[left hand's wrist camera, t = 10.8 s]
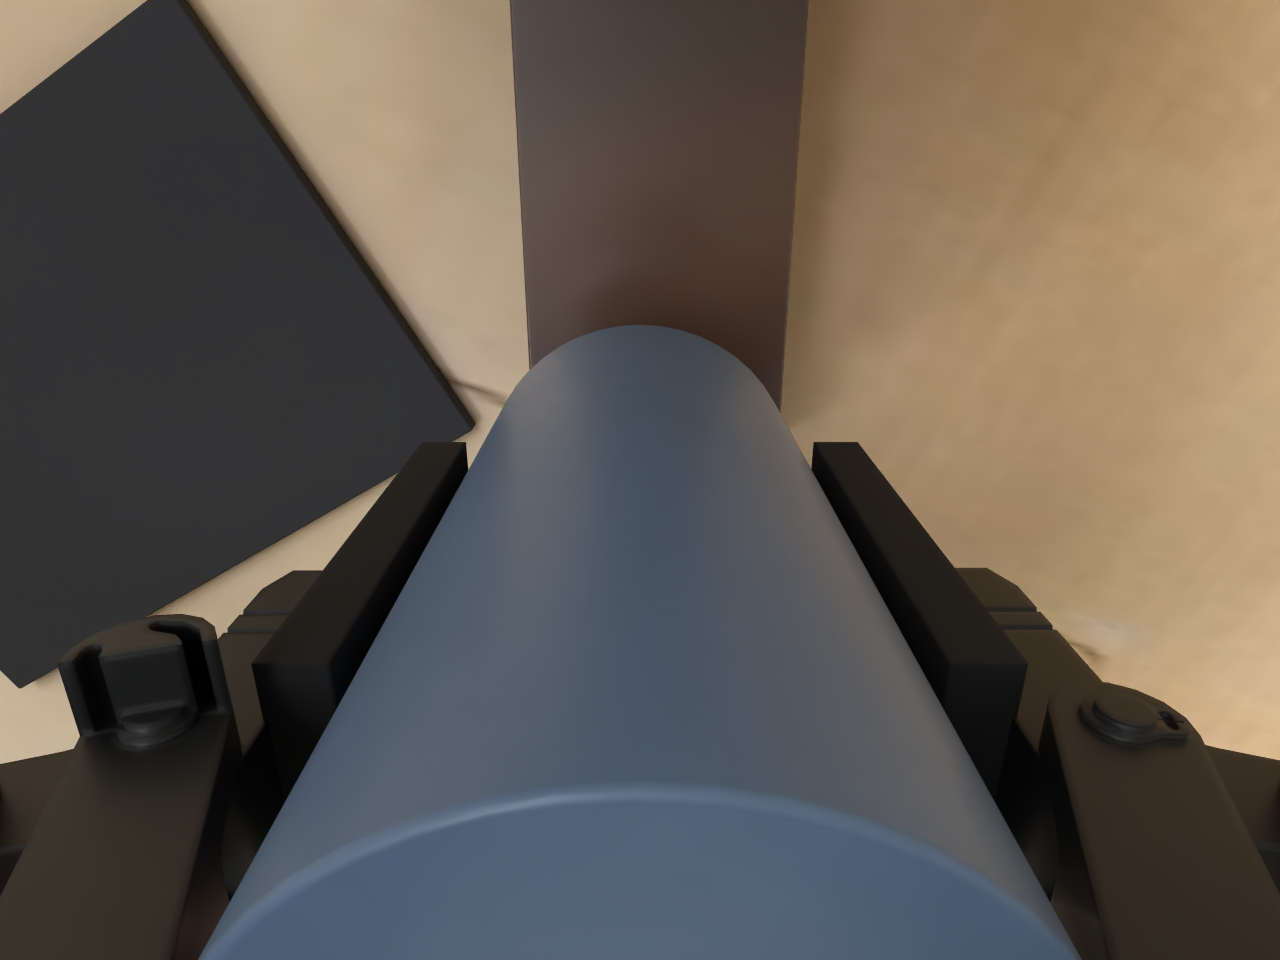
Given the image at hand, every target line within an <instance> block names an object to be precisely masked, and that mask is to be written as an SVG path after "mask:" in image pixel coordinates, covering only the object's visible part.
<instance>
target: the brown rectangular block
mask: <svg viewBox="0 0 1280 960" xmlns="http://www.w3.org/2000/svg"><path fill="white" fill-rule="evenodd" d="M808 1H809V0H510V15H511V33H512V52H513V70H514V89H515V108H516V126H517V145H518V163H519V182H520V201H521V219H522V238H523V257H524V275H525V294H526V312H527V331H528V350H529V368H530V369H532V368H533V367H534V366H535V365H536V364H537V363H538V362H539V361H540V360H542V359H543V358H544V357H545V356H547V355H548V354H550V353H551V352H553V351H554V350H555V349H557V348H558V347H560V346H562V345H564V344H566V343H568V342H570V341H572V340H574V339H576V338H578V337H580V336H583V335H586V334H589V333H592V332H595V331H598V330H602V329H607V328H612V327H617V326H628V325H652V326H663V327H668V328H673V329H678V330H682V331H685V332H688V333H691V334H694V335H697V336H700V337H702V338H704V339H706V340H708V341H710V342H712V343H714V344H716V345H719V346H720V347H722V348H723V349H725V350H726V351H728V352H729V353H731V354H732V355H734V356H735V357H736V358H738V359H739V360H740V361H741V362H742V363H743V364H744V365H745V366H746V367H748V368H749V369H750V370H751V371H752V372H753V374H754V375H755V376H756V377H757V378H758V379H759V381H760V382H761V383H762V384H763V385H764V387H765V388H766V390H767V392H768V393H769V395H770V396H771V398H772V400H773V401H774V403H775V405H776V407H777V408H778V410H779V412H780V413H781V398H782V384H783V369H784V354H785V340H786V325H787V310H788V295H789V281H790V266H791V251H792V236H793V222H794V207H795V192H796V177H797V163H798V148H799V133H800V119H801V104H802V89H803V74H804V60H805V45H806V30H807V15H808Z"/></svg>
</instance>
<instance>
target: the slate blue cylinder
mask: <svg viewBox="0 0 1280 960" xmlns="http://www.w3.org/2000/svg"><path fill="white" fill-rule="evenodd" d="M198 960H1082V959H1081V958H1080V956H1079V954H1078V952H1077V950H1076V948H1075V947H1074V945H1073V943H1072V941H1071V939H1070V938H1069V936H1068V934H1067V932H1066V930H1065V929H1064V927H1063V925H1062V923H1061V921H1060V919H1059V918H1058V916H1057V914H1056V912H1055V910H1054V909H1053V907H1052V905H1051V903H1050V901H1049V900H1048V898H1047V896H1046V894H1045V892H1044V890H1043V889H1042V887H1041V885H1040V883H1039V881H1038V880H1037V878H1036V876H1035V874H1034V872H1033V871H1032V869H1031V867H1030V865H1029V863H1028V861H1027V860H1026V858H1025V856H1024V854H1023V852H1022V851H1021V849H1020V847H1019V845H1018V843H1017V842H1016V840H1015V838H1014V836H1013V834H1012V832H1011V831H1010V829H1009V827H1008V825H1007V823H1006V822H1005V820H1004V818H1003V816H1002V814H1001V813H1000V811H999V809H998V807H997V805H996V803H995V802H994V800H993V798H992V796H991V794H990V793H989V791H988V789H987V787H986V785H985V784H984V782H983V780H982V778H981V776H980V774H979V773H978V771H977V769H976V767H975V765H974V764H973V762H972V760H971V758H970V756H969V755H968V753H967V751H966V749H965V747H964V745H963V744H962V742H961V740H960V738H959V736H958V735H957V733H956V731H955V729H954V727H953V726H952V724H951V722H950V720H949V718H948V716H947V715H946V713H945V711H944V709H943V707H942V706H941V704H940V702H939V700H938V698H937V697H936V695H935V693H934V691H933V689H932V687H931V686H930V684H929V682H928V680H927V678H926V677H925V675H924V673H923V671H922V669H921V668H920V666H919V664H918V662H917V660H916V658H915V657H914V655H913V653H912V651H911V649H910V648H909V646H908V644H907V642H906V640H905V639H904V637H903V635H902V633H901V631H900V629H899V628H898V626H897V624H896V622H895V620H894V619H893V617H892V615H891V613H890V611H889V610H888V608H887V606H886V604H885V602H884V600H883V599H882V597H881V595H880V593H879V591H878V590H877V588H876V586H875V584H874V582H873V581H872V579H871V577H870V575H869V573H868V571H867V570H866V568H865V566H864V564H863V562H862V561H861V559H860V557H859V555H858V553H857V552H856V550H855V548H854V546H853V544H852V542H851V541H850V539H849V537H848V535H847V533H846V532H845V530H844V528H843V526H842V524H841V523H840V521H839V519H838V517H837V515H836V513H835V512H834V510H833V508H832V506H831V504H830V503H829V501H828V499H827V497H826V495H825V494H824V492H823V490H822V488H821V486H820V484H819V483H818V481H817V479H816V477H815V475H814V474H813V472H812V470H811V468H810V466H809V465H808V463H807V461H806V459H805V457H804V455H803V454H802V452H801V450H800V448H799V446H798V445H797V443H796V441H795V439H794V437H793V436H792V434H791V432H790V430H789V428H788V426H787V425H786V423H785V421H784V419H783V417H782V416H781V414H780V412H779V410H778V408H777V407H776V405H775V403H774V401H773V400H772V398H771V396H770V395H769V393H768V392H767V390H766V388H765V387H764V385H763V384H762V383H761V382H760V381H759V379H758V378H757V377H756V376H755V375H754V374H753V372H752V371H751V370H750V369H749V368H748V367H746V366H745V365H744V364H743V363H742V362H741V361H740V360H739V359H738V358H736V357H735V356H734V355H732V354H731V353H729V352H728V351H726V350H725V349H723V348H722V347H720V346H719V345H716V344H714V343H712V342H710V341H708V340H706V339H704V338H702V337H700V336H697V335H694V334H691V333H688V332H685V331H682V330H678V329H673V328H668V327H663V326H652V325H628V326H617V327H612V328H607V329H602V330H598V331H595V332H592V333H589V334H586V335H583V336H580V337H578V338H576V339H574V340H572V341H570V342H568V343H566V344H564V345H562V346H560V347H558V348H557V349H555V350H554V351H553V352H551V353H550V354H548V355H547V356H545V357H544V358H543V359H542V360H540V361H539V362H538V363H537V364H536V365H535V366H534V367H533V368H532V369H530V370H529V371H528V373H527V374H526V375H525V376H524V377H523V378H522V380H521V381H520V382H519V383H518V384H517V386H516V387H515V389H514V390H513V392H512V394H511V395H510V397H509V398H508V400H507V401H506V403H505V405H504V407H503V409H502V410H501V412H500V414H499V416H498V418H497V419H496V421H495V423H494V425H493V427H492V429H491V430H490V432H489V434H488V436H487V438H486V439H485V441H484V443H483V445H482V447H481V448H480V450H479V452H478V454H477V456H476V457H475V459H474V461H473V463H472V465H471V467H470V468H469V470H468V472H467V474H466V476H465V477H464V479H463V481H462V483H461V485H460V486H459V488H458V490H457V492H456V494H455V496H454V497H453V499H452V501H451V503H450V505H449V506H448V508H447V510H446V512H445V514H444V515H443V517H442V519H441V521H440V523H439V524H438V526H437V528H436V530H435V532H434V534H433V535H432V537H431V539H430V541H429V543H428V544H427V546H426V548H425V550H424V552H423V553H422V555H421V557H420V559H419V561H418V562H417V564H416V566H415V568H414V570H413V572H412V573H411V575H410V577H409V579H408V581H407V582H406V584H405V586H404V588H403V590H402V591H401V593H400V595H399V597H398V599H397V600H396V602H395V604H394V606H393V608H392V610H391V611H390V613H389V615H388V617H387V619H386V620H385V622H384V624H383V626H382V628H381V629H380V631H379V633H378V635H377V637H376V638H375V640H374V642H373V644H372V646H371V648H370V649H369V651H368V653H367V655H366V657H365V658H364V660H363V662H362V664H361V666H360V667H359V669H358V671H357V673H356V675H355V677H354V678H353V680H352V682H351V684H350V686H349V687H348V689H347V691H346V693H345V695H344V696H343V698H342V700H341V702H340V704H339V705H338V707H337V709H336V711H335V713H334V715H333V716H332V718H331V720H330V722H329V724H328V725H327V727H326V729H325V731H324V733H323V734H322V736H321V738H320V740H319V742H318V743H317V745H316V747H315V749H314V751H313V753H312V754H311V756H310V758H309V760H308V762H307V763H306V765H305V767H304V769H303V771H302V772H301V774H300V776H299V778H298V780H297V781H296V783H295V785H294V787H293V789H292V791H291V792H290V794H289V796H288V798H287V800H286V801H285V803H284V805H283V807H282V809H281V810H280V812H279V814H278V816H277V818H276V820H275V821H274V823H273V825H272V827H271V829H270V830H269V832H268V834H267V836H266V838H265V839H264V841H263V843H262V845H261V847H260V848H259V850H258V852H257V854H256V856H255V858H254V859H253V861H252V863H251V865H250V867H249V868H248V870H247V872H246V874H245V876H244V877H243V879H242V881H241V883H240V885H239V886H238V888H237V890H236V892H235V894H234V896H233V897H232V899H231V901H230V903H229V905H228V906H227V908H226V910H225V912H224V914H223V915H222V917H221V919H220V921H219V923H218V924H217V926H216V928H215V930H214V932H213V934H212V935H211V937H210V939H209V941H208V943H207V944H206V946H205V948H204V950H203V952H202V953H201V955H200V957H199V959H198Z"/></svg>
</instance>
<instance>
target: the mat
mask: <svg viewBox="0 0 1280 960" xmlns="http://www.w3.org/2000/svg"><path fill="white" fill-rule="evenodd" d="M474 426H475V422H474V421H473V420H472V418H471V417H470V415H469V414H468V412H467V411H466V409H465V408H464V406H463V405H462V403H461V402H460V401H459V399H458V398H457V396H456V395H455V393H454V392H453V390H452V389H451V387H450V386H449V384H448V383H447V382H446V380H445V379H444V377H443V376H442V374H441V373H440V371H439V370H438V368H437V367H436V365H435V364H434V362H433V361H432V360H431V358H430V357H429V355H428V354H427V352H426V351H425V349H424V348H423V346H422V345H421V343H420V342H419V341H418V339H417V338H416V336H415V335H414V333H413V332H412V330H411V329H410V327H409V326H408V324H407V323H406V322H405V320H404V319H403V317H402V316H401V314H400V313H399V311H398V310H397V308H396V307H395V305H394V304H393V302H392V301H391V300H390V298H389V297H388V295H387V294H386V292H385V291H384V289H383V288H382V286H381V285H380V283H379V282H378V281H377V279H376V278H375V276H374V275H373V273H372V272H371V270H370V269H369V267H368V266H367V264H366V263H365V262H364V260H363V259H362V257H361V256H360V254H359V253H358V251H357V250H356V248H355V247H354V245H353V244H352V242H351V241H350V240H349V238H348V237H347V235H346V234H345V232H344V231H343V229H342V228H341V226H340V225H339V223H338V222H337V221H336V219H335V218H334V216H333V215H332V213H331V212H330V210H329V209H328V207H327V206H326V204H325V203H324V202H323V200H322V199H321V197H320V196H319V194H318V193H317V191H316V190H315V188H314V187H313V185H312V184H311V182H310V181H309V180H308V178H307V177H306V175H305V174H304V172H303V171H302V169H301V168H300V166H299V165H298V163H297V162H296V161H295V159H294V158H293V156H292V155H291V153H290V152H289V150H288V149H287V147H286V146H285V144H284V143H283V142H282V140H281V139H280V137H279V136H278V134H277V133H276V131H275V130H274V128H273V127H272V125H271V124H270V122H269V121H268V120H267V118H266V117H265V115H264V114H263V112H262V111H261V109H260V108H259V106H258V105H257V103H256V102H255V101H254V99H253V98H252V96H251V95H250V93H249V92H248V90H247V89H246V87H245V86H244V84H243V83H242V82H241V80H240V79H239V77H238V76H237V74H236V73H235V71H234V70H233V68H232V67H231V65H230V64H229V62H228V61H227V60H226V58H225V57H224V55H223V54H222V52H221V51H220V49H219V48H218V46H217V45H216V43H215V42H214V41H213V39H212V38H211V36H210V35H209V33H208V32H207V30H206V29H205V27H204V26H203V24H202V23H201V22H200V20H199V19H198V17H197V16H196V14H195V13H194V11H193V10H192V8H191V7H190V5H189V4H188V2H187V1H186V0H147V1H146V2H145V3H143V4H142V5H141V6H139V7H138V8H137V9H136V10H134V11H133V12H132V13H130V14H129V15H128V16H126V17H125V18H124V19H123V20H121V21H120V22H119V23H117V24H116V25H115V26H114V27H112V28H111V29H110V30H108V31H107V32H106V33H105V34H103V35H102V36H101V37H99V38H98V39H97V40H96V41H94V42H93V43H92V44H90V45H89V46H88V47H86V48H85V49H84V50H83V51H81V52H80V53H79V54H77V55H76V56H75V57H74V58H72V59H71V60H70V61H68V62H67V63H66V64H65V65H63V66H62V67H61V68H59V69H58V70H57V71H56V72H54V73H53V74H52V75H50V76H49V77H48V78H47V79H45V80H44V81H43V82H41V83H40V84H39V85H37V86H36V87H35V88H34V89H32V90H31V91H30V92H28V93H27V94H26V95H25V96H23V97H22V98H21V99H19V100H18V101H17V102H16V103H14V104H13V105H12V106H10V107H9V108H8V109H7V110H5V111H4V112H3V113H1V114H0V671H2V672H3V673H4V674H5V675H6V676H7V677H8V678H9V679H10V680H11V681H12V682H13V683H14V684H15V685H16V686H17V687H18V688H23V687H24V686H26V685H28V684H30V683H31V682H33V681H35V680H37V679H38V678H40V677H42V676H44V675H45V674H47V673H49V672H50V671H52V670H54V669H56V668H57V667H58V665H57V663H58V661H59V660H60V659H61V658H62V657H63V656H64V655H65V654H66V653H67V652H68V651H69V650H70V649H71V648H72V647H74V646H75V645H77V644H79V643H80V642H82V641H84V640H85V639H87V638H89V637H90V636H92V635H94V634H96V633H98V632H100V631H103V630H106V629H108V628H111V627H113V626H116V625H119V624H121V623H124V622H127V621H132V620H136V619H141V618H145V617H147V616H148V615H150V614H152V613H154V612H155V611H157V610H159V609H161V608H162V607H164V606H166V605H168V604H169V603H171V602H173V601H175V600H176V599H178V598H180V597H182V596H183V595H185V594H187V593H189V592H190V591H192V590H194V589H195V588H197V587H199V586H201V585H202V584H204V583H206V582H208V581H209V580H211V579H213V578H215V577H216V576H218V575H220V574H222V573H223V572H225V571H227V570H229V569H230V568H232V567H234V566H236V565H237V564H239V563H241V562H243V561H244V560H246V559H248V558H250V557H251V556H253V555H255V554H257V553H258V552H260V551H262V550H264V549H265V548H267V547H269V546H271V545H272V544H274V543H276V542H278V541H279V540H281V539H283V538H285V537H286V536H288V535H290V534H292V533H293V532H295V531H297V530H299V529H300V528H302V527H304V526H306V525H307V524H309V523H311V522H313V521H314V520H316V519H318V518H320V517H321V516H323V515H325V514H327V513H328V512H330V511H332V510H334V509H335V508H337V507H339V506H340V505H342V504H344V503H346V502H347V501H349V500H351V499H353V498H354V497H356V496H358V495H360V494H361V493H363V492H365V491H367V490H368V489H370V488H372V487H374V486H375V485H377V484H379V483H381V482H382V481H384V480H386V479H388V478H389V477H391V476H393V475H395V474H396V473H398V472H399V471H400V470H401V469H402V467H403V466H404V465H405V464H406V462H407V461H408V460H409V458H410V457H411V456H412V454H413V453H414V452H415V451H416V449H417V448H418V447H419V445H420V444H421V443H422V442H452V441H454V440H456V439H458V438H459V437H461V436H463V435H465V434H466V433H468V432H470V431H471V430H472V429H473V427H474Z"/></svg>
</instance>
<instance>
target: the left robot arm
mask: <svg viewBox="0 0 1280 960" xmlns="http://www.w3.org/2000/svg"><path fill="white" fill-rule="evenodd" d="M811 470H812V472H813V474H814V475H815V477H816V479H817V481H818V483H819V484H820V486H821V488H822V490H823V492H824V494H825V495H826V497H827V499H828V501H829V503H830V504H831V506H832V508H833V510H834V512H835V513H836V515H837V517H838V519H839V521H840V523H841V524H842V526H843V528H844V530H845V532H846V533H847V535H848V537H849V539H850V541H851V542H852V544H853V546H854V548H855V550H856V552H857V553H858V555H859V557H860V559H861V561H862V562H863V564H864V566H865V568H866V570H867V571H868V573H869V575H870V577H871V579H872V581H873V582H874V584H875V586H876V588H877V590H878V591H879V593H880V595H881V597H882V599H883V600H884V602H885V604H886V606H887V608H888V610H889V611H890V613H891V615H892V617H893V619H894V620H895V622H896V624H897V626H898V628H899V629H900V631H901V633H902V635H903V637H904V639H905V640H906V642H907V644H908V646H909V648H910V649H911V651H912V653H913V655H914V657H915V658H916V660H917V662H918V664H919V666H920V668H921V669H922V671H923V673H924V675H925V677H926V678H927V680H928V682H929V684H930V686H931V687H932V689H933V691H934V693H935V695H936V697H937V698H938V700H939V702H940V704H941V706H942V707H943V709H944V711H945V713H946V715H947V716H948V718H949V720H950V722H951V724H952V726H953V727H954V729H955V731H956V733H957V735H958V736H959V738H960V740H961V742H962V744H963V745H964V747H965V749H966V751H967V753H968V755H969V756H970V758H971V760H972V762H973V764H974V765H975V767H976V769H977V771H978V773H979V774H980V776H981V778H982V780H983V782H984V784H985V785H986V787H987V789H988V791H989V793H990V794H991V796H992V798H993V800H994V802H995V803H996V805H997V807H998V809H999V811H1000V813H1001V814H1002V816H1003V818H1004V820H1005V822H1006V823H1007V825H1008V827H1009V829H1010V831H1011V832H1012V834H1013V836H1014V838H1015V840H1016V842H1017V843H1018V845H1019V847H1020V849H1021V851H1022V852H1023V854H1024V856H1025V858H1026V860H1027V861H1028V863H1029V865H1030V867H1031V869H1032V871H1033V872H1034V874H1035V876H1036V878H1037V880H1038V881H1039V883H1040V885H1041V887H1042V889H1043V890H1044V892H1045V894H1046V896H1047V898H1048V900H1049V901H1050V903H1051V905H1052V907H1053V909H1054V910H1055V912H1056V914H1057V916H1058V918H1059V919H1060V921H1061V923H1062V925H1063V927H1064V929H1065V930H1066V932H1067V934H1068V936H1069V938H1070V939H1071V941H1072V943H1073V945H1074V947H1075V948H1076V950H1077V952H1078V954H1079V956H1080V958H1081V959H1082V960H1280V760H1275V759H1270V758H1265V757H1260V756H1255V755H1249V754H1244V753H1239V752H1234V751H1229V750H1224V749H1219V748H1215V747H1211V746H1207V745H1205V744H1204V742H1203V740H1202V738H1201V736H1200V735H1199V733H1198V732H1197V731H1196V730H1195V728H1194V727H1193V726H1192V725H1191V723H1190V722H1189V721H1188V720H1187V718H1185V717H1184V716H1183V715H1181V714H1180V713H1178V712H1177V711H1175V710H1174V709H1173V708H1171V707H1170V706H1168V705H1167V704H1165V703H1164V702H1162V701H1160V700H1158V699H1155V698H1153V697H1151V696H1149V695H1146V694H1144V693H1142V692H1140V691H1137V690H1135V689H1131V688H1127V687H1123V686H1119V685H1115V684H1111V683H1105V682H1102V681H1101V680H1100V678H1099V677H1098V676H1097V675H1096V674H1095V673H1094V672H1093V671H1092V669H1091V668H1090V667H1089V666H1088V665H1087V664H1086V663H1085V662H1084V660H1083V659H1082V658H1081V657H1080V656H1079V655H1078V654H1077V653H1076V651H1075V650H1074V649H1073V648H1072V647H1071V646H1070V645H1069V644H1068V642H1067V641H1066V640H1065V639H1064V638H1063V637H1062V636H1061V634H1060V633H1059V632H1058V631H1057V630H1053V629H1052V624H1051V623H1050V622H1049V621H1048V620H1047V619H1046V618H1045V616H1044V615H1043V614H1042V613H1041V612H1037V610H1036V609H1037V607H1036V606H1035V605H1034V604H1033V603H1032V602H1031V601H1030V600H1029V598H1028V597H1027V596H1026V595H1025V594H1024V593H1023V592H1022V591H1021V589H1020V588H1019V587H1018V586H1016V585H1015V584H1013V583H1011V582H1010V581H1008V580H1006V579H1005V578H1003V577H1001V576H1000V575H998V574H996V573H994V572H993V571H991V570H989V569H988V568H954V567H953V565H952V564H951V563H950V561H949V560H948V559H947V557H946V556H945V555H944V554H943V552H942V551H941V550H940V548H939V547H938V546H937V545H936V543H935V542H934V541H933V539H932V538H931V537H930V535H929V534H928V533H927V532H926V530H925V529H924V528H923V526H922V525H921V524H920V522H919V521H918V520H917V519H916V517H915V516H914V515H913V513H912V512H911V511H910V510H909V508H908V507H907V506H906V504H905V503H904V502H903V500H902V499H901V498H900V497H899V495H898V494H897V493H896V491H895V490H894V489H893V488H892V486H891V485H890V484H889V482H888V481H887V480H886V478H885V477H884V476H883V475H882V473H881V472H880V471H879V469H878V468H877V467H876V465H875V464H874V463H873V462H872V460H871V459H870V458H869V456H868V455H867V454H866V453H865V451H864V450H863V449H862V447H861V446H860V445H859V443H858V442H814V445H813V457H812V469H811ZM467 472H468V462H467V451H466V442H422V443H421V444H420V445H419V447H418V448H417V449H416V451H415V452H414V453H413V454H412V456H411V457H410V458H409V460H408V461H407V462H406V464H405V465H404V466H403V467H402V469H401V470H400V471H399V473H398V474H397V475H396V477H395V478H394V479H393V480H392V482H391V483H390V484H389V486H388V487H387V488H386V489H385V491H384V492H383V493H382V495H381V496H380V497H379V499H378V500H377V501H376V502H375V504H374V505H373V506H372V508H371V509H370V510H369V511H368V513H367V514H366V515H365V517H364V518H363V519H362V521H361V522H360V523H359V524H358V526H357V527H356V528H355V530H354V531H353V532H352V533H351V535H350V536H349V537H348V539H347V540H346V541H345V543H344V544H343V545H342V546H341V548H340V549H339V550H338V552H337V553H336V554H335V556H334V557H333V558H332V559H331V561H330V562H329V563H328V565H327V566H326V567H325V568H324V570H323V571H292V572H290V573H288V574H287V575H285V576H283V577H282V578H280V579H278V580H277V581H275V582H273V583H272V584H270V585H268V586H266V587H265V588H263V589H262V590H261V591H260V592H259V593H258V594H257V596H256V597H255V598H254V599H253V600H252V601H251V602H250V604H249V605H248V606H247V607H246V608H245V609H244V610H243V611H244V613H243V615H239V616H238V617H237V618H236V619H235V621H234V622H233V623H232V624H231V625H230V626H229V627H228V632H227V633H223V634H222V635H221V636H220V638H219V639H218V640H217V635H216V631H215V627H214V626H213V625H212V624H210V623H209V622H208V621H206V620H205V619H203V618H201V617H196V616H190V615H184V614H172V615H155V616H150V617H146V618H141V619H136V620H132V621H127V622H124V623H121V624H119V625H116V626H113V627H111V628H108V629H106V630H103V631H100V632H98V633H96V634H94V635H92V636H90V637H89V638H87V639H85V640H84V641H82V642H80V643H79V644H77V645H75V646H74V647H72V648H71V649H70V650H69V651H68V652H67V653H66V654H65V655H64V656H63V657H62V658H61V659H60V660H59V661H58V663H57V665H58V668H59V671H60V675H61V678H62V681H63V684H64V687H65V690H66V693H67V696H68V700H69V703H70V706H71V709H72V712H73V715H74V718H75V721H76V725H77V728H78V731H79V734H80V738H79V740H78V742H77V744H76V746H75V748H74V749H71V750H67V751H64V752H59V753H54V754H49V755H44V756H39V757H34V758H29V759H24V760H19V761H14V762H9V763H4V764H0V960H198V959H199V957H200V955H201V953H202V952H203V950H204V948H205V946H206V944H207V943H208V941H209V939H210V937H211V935H212V934H213V932H214V930H215V928H216V926H217V924H218V923H219V921H220V919H221V917H222V915H223V914H224V912H225V910H226V908H227V906H228V905H229V903H230V901H231V899H232V897H233V896H234V894H235V892H236V890H237V888H238V886H239V885H240V883H241V881H242V879H243V877H244V876H245V874H246V872H247V870H248V868H249V867H250V865H251V863H252V861H253V859H254V858H255V856H256V854H257V852H258V850H259V848H260V847H261V845H262V843H263V841H264V839H265V838H266V836H267V834H268V832H269V830H270V829H271V827H272V825H273V823H274V821H275V820H276V818H277V816H278V814H279V812H280V810H281V809H282V807H283V805H284V803H285V801H286V800H287V798H288V796H289V794H290V792H291V791H292V789H293V787H294V785H295V783H296V781H297V780H298V778H299V776H300V774H301V772H302V771H303V769H304V767H305V765H306V763H307V762H308V760H309V758H310V756H311V754H312V753H313V751H314V749H315V747H316V745H317V743H318V742H319V740H320V738H321V736H322V734H323V733H324V731H325V729H326V727H327V725H328V724H329V722H330V720H331V718H332V716H333V715H334V713H335V711H336V709H337V707H338V705H339V704H340V702H341V700H342V698H343V696H344V695H345V693H346V691H347V689H348V687H349V686H350V684H351V682H352V680H353V678H354V677H355V675H356V673H357V671H358V669H359V667H360V666H361V664H362V662H363V660H364V658H365V657H366V655H367V653H368V651H369V649H370V648H371V646H372V644H373V642H374V640H375V638H376V637H377V635H378V633H379V631H380V629H381V628H382V626H383V624H384V622H385V620H386V619H387V617H388V615H389V613H390V611H391V610H392V608H393V606H394V604H395V602H396V600H397V599H398V597H399V595H400V593H401V591H402V590H403V588H404V586H405V584H406V582H407V581H408V579H409V577H410V575H411V573H412V572H413V570H414V568H415V566H416V564H417V562H418V561H419V559H420V557H421V555H422V553H423V552H424V550H425V548H426V546H427V544H428V543H429V541H430V539H431V537H432V535H433V534H434V532H435V530H436V528H437V526H438V524H439V523H440V521H441V519H442V517H443V515H444V514H445V512H446V510H447V508H448V506H449V505H450V503H451V501H452V499H453V497H454V496H455V494H456V492H457V490H458V488H459V486H460V485H461V483H462V481H463V479H464V477H465V476H466V474H467Z"/></svg>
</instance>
